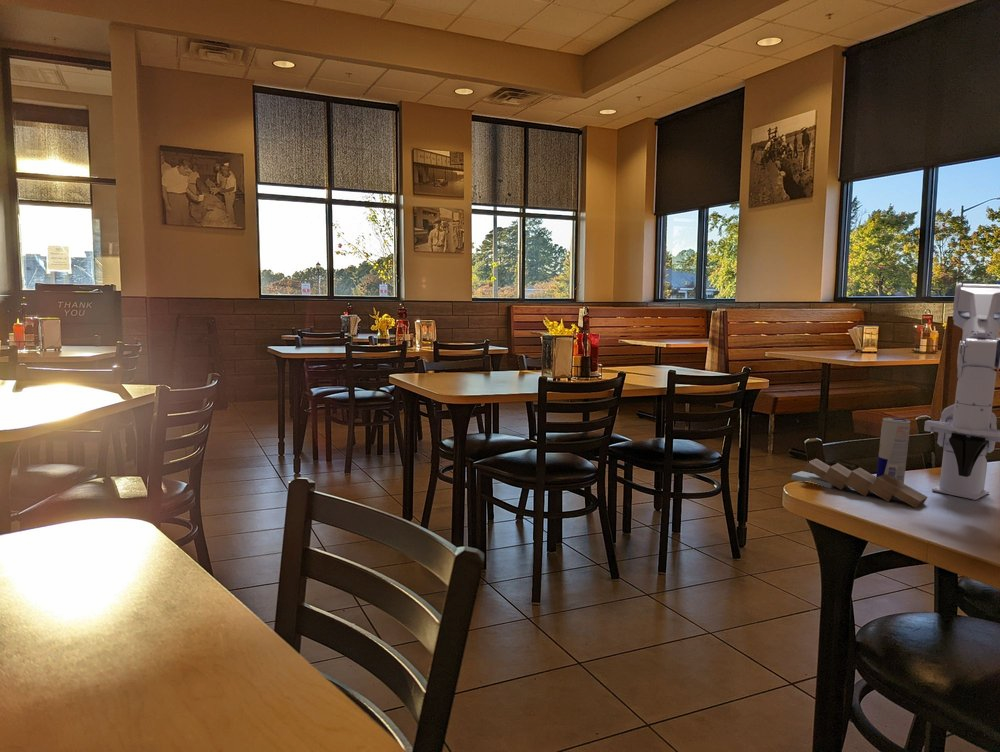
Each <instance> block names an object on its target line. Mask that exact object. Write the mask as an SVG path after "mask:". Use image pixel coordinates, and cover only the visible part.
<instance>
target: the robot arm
mask: <svg viewBox="0 0 1000 752" xmlns="http://www.w3.org/2000/svg"><path fill="white" fill-rule="evenodd" d="M954 289H955V290H954V298H953V306H952V307H953V309H952V310H953V313H952V320H953V325H955V326H956V327H959V328H960V329H962V336H961V340H960V341H959V344H958V350H957V357H956V358H957V360H956V364H957V376H956V378H957V381H956V382H957V383H956V389H955V400H954V403H953V404H951V405H949V406H947V407H945V408H944V409H942V411H941V413H940V414H941V415H940V418H939V421H937V420H931V419H930V420H929V419H928V420H925V421H924V428H923V429H924V432H930V433H931V432H934V433H938V435H937V442H936V443H937V445H938V446H939V447H942V448H943V452H942V461H941V462H942V463H941V467H940V468H941V470H940V479H939V485H937V486H934V487H932V488H931V491H933V492H936V493H942V494H947V495H951V496H954V497H955V496H956V497H960V498H965V499H970V500H973V501H974V500H975V501H976V500H978V499H980V498H981V497H984V496H986V495H987V494H989V493H990V490H989V489H988V490H987V489H985V485H986V475H987V471H988V460H987V458H986V456H987V453H992V452H993V451H994V450H995V446H996V443H1000V429H997V428H998V426H997V420H998V419H997V417H996V414H995V413H994V412H992V410H993V402H994V394H995V389H996V388H995V387H996V378H997V372H999V370H1000V284H995V283H962V282H958V283H957V284H956V285H955V288H954ZM995 368H996V370H995Z"/></svg>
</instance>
